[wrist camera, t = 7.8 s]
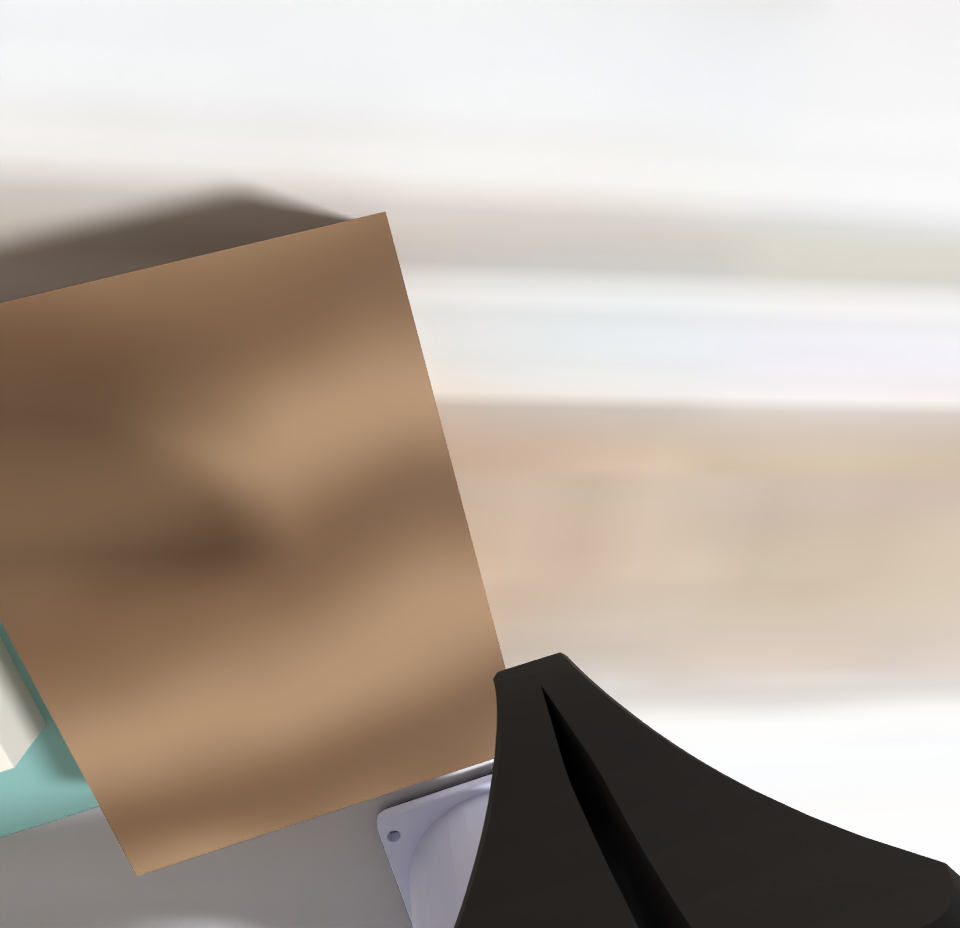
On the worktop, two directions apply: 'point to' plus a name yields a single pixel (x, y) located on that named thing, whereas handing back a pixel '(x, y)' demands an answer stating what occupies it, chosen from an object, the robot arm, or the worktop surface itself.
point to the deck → (240, 540)
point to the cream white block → (15, 713)
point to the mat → (41, 772)
